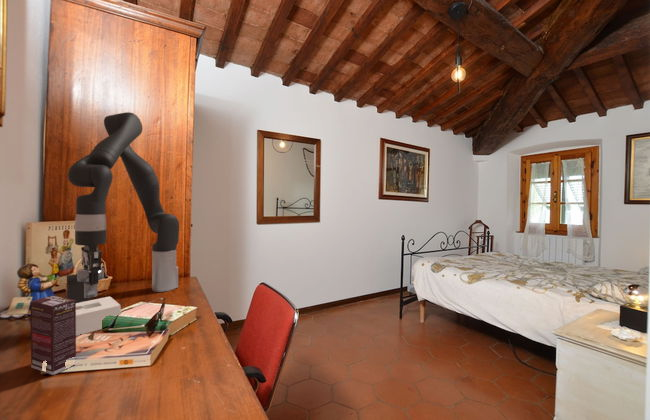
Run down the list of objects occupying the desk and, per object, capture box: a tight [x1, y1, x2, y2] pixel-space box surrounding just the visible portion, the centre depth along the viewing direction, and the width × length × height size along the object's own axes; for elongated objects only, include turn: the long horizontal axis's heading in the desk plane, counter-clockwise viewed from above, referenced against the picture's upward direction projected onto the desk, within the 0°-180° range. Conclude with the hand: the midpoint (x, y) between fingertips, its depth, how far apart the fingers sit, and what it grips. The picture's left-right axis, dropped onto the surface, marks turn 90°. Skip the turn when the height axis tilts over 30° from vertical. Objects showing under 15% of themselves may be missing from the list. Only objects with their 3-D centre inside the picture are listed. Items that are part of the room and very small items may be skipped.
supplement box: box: [29, 295, 77, 376], centre depth 66 cm, size 9×5×16 cm, turn 71°
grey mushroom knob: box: [76, 266, 105, 299], centre depth 88 cm, size 6×6×8 cm
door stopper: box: [66, 273, 91, 303], centre depth 102 cm, size 9×6×12 cm, turn 45°
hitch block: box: [76, 296, 122, 337], centre depth 88 cm, size 12×12×6 cm
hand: (91, 281), depth 88 cm, fingers closed on grey mushroom knob, 6 cm apart
